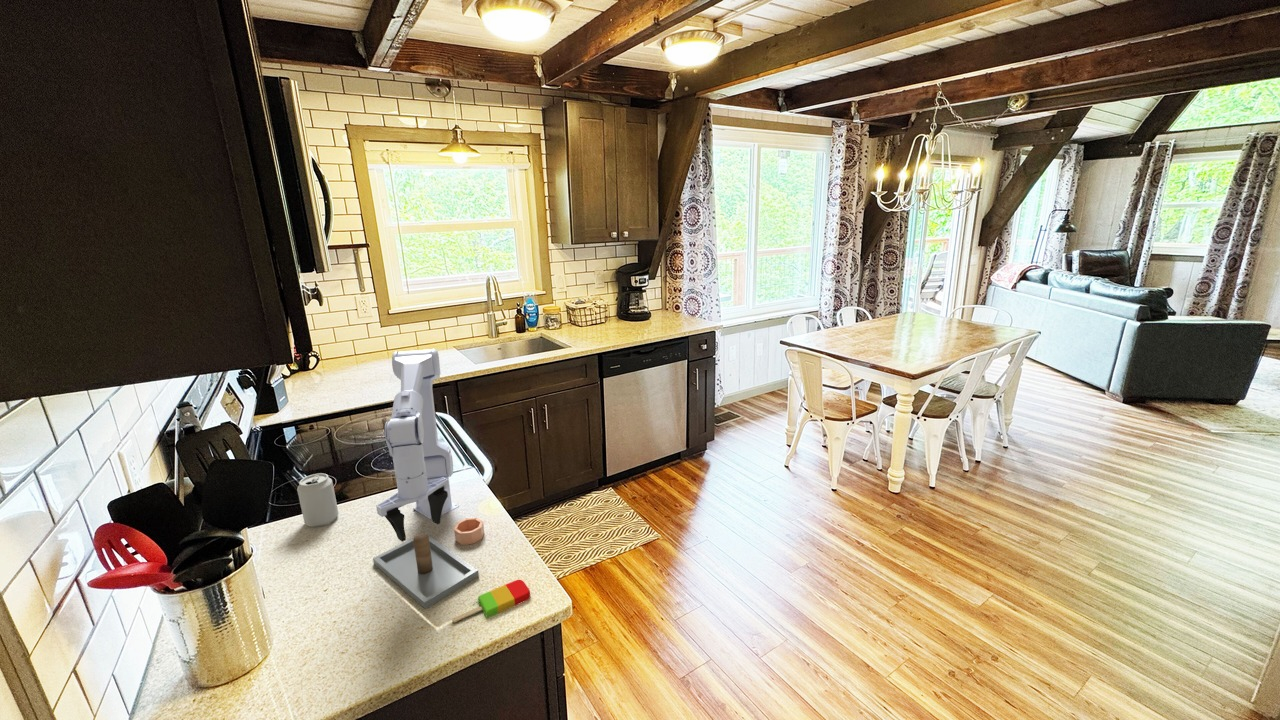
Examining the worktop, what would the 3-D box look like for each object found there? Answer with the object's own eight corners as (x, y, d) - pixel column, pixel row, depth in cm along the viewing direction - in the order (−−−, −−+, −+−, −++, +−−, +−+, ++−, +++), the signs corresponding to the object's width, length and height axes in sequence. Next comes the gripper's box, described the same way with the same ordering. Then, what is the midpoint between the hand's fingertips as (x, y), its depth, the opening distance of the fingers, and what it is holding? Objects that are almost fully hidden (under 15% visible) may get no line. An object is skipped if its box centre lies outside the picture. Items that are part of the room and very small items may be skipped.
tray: (374, 566, 112) (372, 558, 111) (425, 539, 121) (424, 532, 120) (425, 611, 98) (424, 602, 98) (479, 578, 107) (478, 570, 107)
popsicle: (532, 599, 102) (531, 591, 101) (456, 634, 93) (455, 625, 93) (522, 584, 106) (521, 576, 105) (448, 616, 98) (447, 608, 97)
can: (298, 529, 125) (288, 486, 122) (316, 512, 133) (307, 471, 129) (329, 528, 126) (320, 485, 122) (344, 512, 133) (337, 470, 130)
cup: (451, 539, 120) (449, 526, 120) (474, 527, 125) (472, 515, 124) (466, 549, 117) (464, 536, 116) (488, 536, 121) (487, 523, 120)
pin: (415, 570, 109) (410, 538, 107) (428, 563, 111) (423, 531, 109) (422, 576, 107) (417, 543, 105) (435, 568, 109) (431, 536, 107)
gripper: (384, 493, 95) (394, 555, 99) (453, 464, 106) (460, 521, 110) (367, 482, 99) (378, 541, 103) (435, 455, 110) (443, 510, 114)
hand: (419, 530), depth 107 cm, fingers open, 7 cm apart
